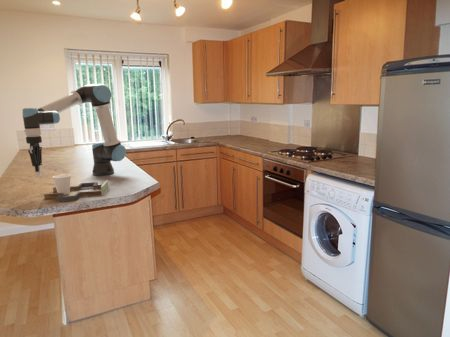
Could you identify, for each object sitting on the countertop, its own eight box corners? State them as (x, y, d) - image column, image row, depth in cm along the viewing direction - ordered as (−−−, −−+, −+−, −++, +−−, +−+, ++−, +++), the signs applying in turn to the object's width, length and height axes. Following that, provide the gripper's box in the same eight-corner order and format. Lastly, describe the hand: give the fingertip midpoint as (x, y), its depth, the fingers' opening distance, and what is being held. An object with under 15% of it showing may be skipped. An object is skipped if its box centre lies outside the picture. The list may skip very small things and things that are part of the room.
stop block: (106, 188, 205) (106, 180, 203) (108, 188, 205) (108, 180, 204) (101, 195, 190) (100, 186, 189) (103, 195, 190) (102, 186, 189)
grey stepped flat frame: (54, 191, 200) (53, 187, 200) (106, 188, 205) (106, 184, 204) (44, 198, 185) (43, 194, 185) (101, 195, 190) (101, 191, 189)
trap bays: (72, 187, 208) (72, 183, 208) (98, 185, 211) (97, 182, 210) (56, 201, 180) (56, 197, 179) (86, 199, 182) (85, 195, 181)
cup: (51, 195, 193) (48, 176, 190) (67, 190, 201) (64, 173, 198) (60, 197, 187) (58, 178, 185) (76, 193, 195) (74, 175, 193)
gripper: (31, 135, 191) (36, 174, 195) (21, 137, 178) (27, 179, 183) (44, 134, 192) (50, 174, 196) (35, 136, 179) (41, 179, 184)
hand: (38, 176), depth 190 cm, fingers closed
